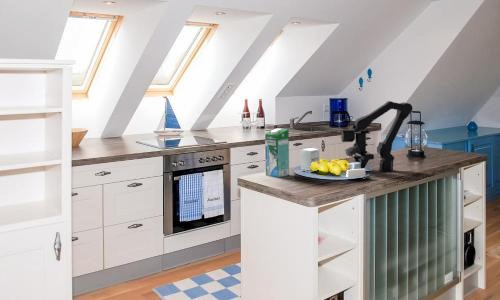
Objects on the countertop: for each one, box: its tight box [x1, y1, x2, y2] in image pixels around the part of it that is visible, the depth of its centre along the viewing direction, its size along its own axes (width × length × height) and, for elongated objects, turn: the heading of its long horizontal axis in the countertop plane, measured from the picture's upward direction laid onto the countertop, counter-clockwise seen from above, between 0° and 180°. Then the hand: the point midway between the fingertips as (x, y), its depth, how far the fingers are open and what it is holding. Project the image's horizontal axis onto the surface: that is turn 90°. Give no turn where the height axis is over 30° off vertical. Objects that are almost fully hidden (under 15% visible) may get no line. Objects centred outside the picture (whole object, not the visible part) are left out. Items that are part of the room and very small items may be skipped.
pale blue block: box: [349, 161, 371, 171], centre depth 265 cm, size 10×4×5 cm, turn 108°
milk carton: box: [264, 127, 290, 178], centre depth 260 cm, size 9×9×25 cm
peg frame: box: [344, 163, 366, 180], centre depth 255 cm, size 15×10×5 cm, turn 17°
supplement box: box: [300, 147, 320, 170], centre depth 268 cm, size 7×7×13 cm
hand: (360, 169), depth 265 cm, fingers closed on pale blue block, 4 cm apart
